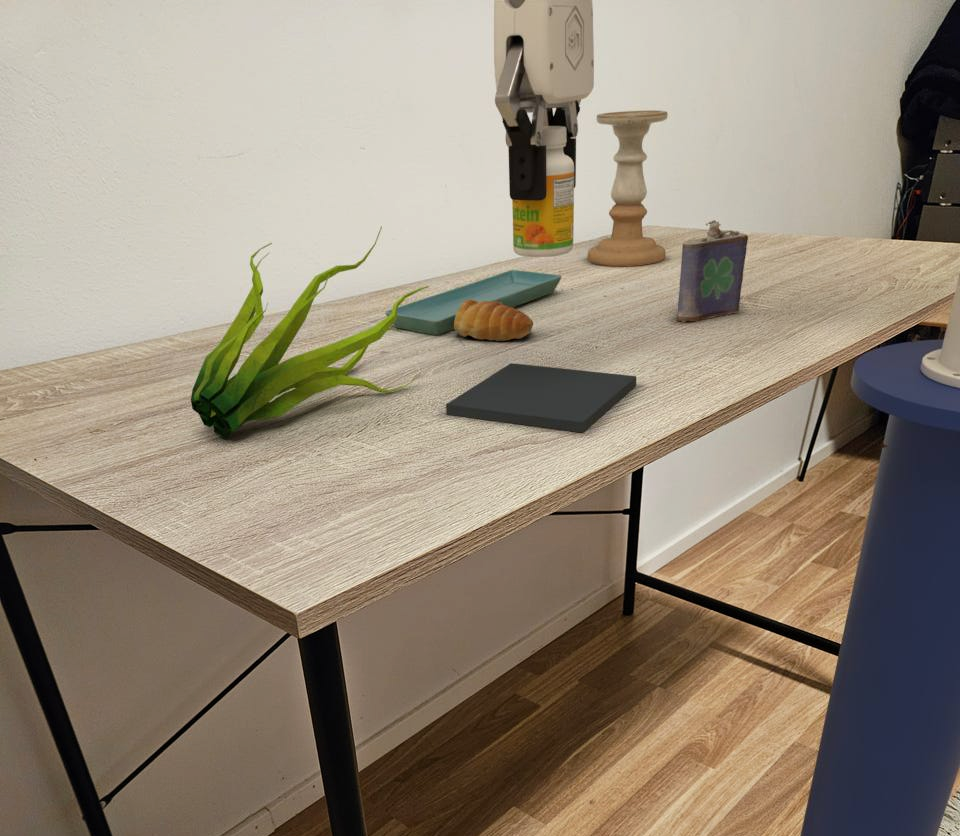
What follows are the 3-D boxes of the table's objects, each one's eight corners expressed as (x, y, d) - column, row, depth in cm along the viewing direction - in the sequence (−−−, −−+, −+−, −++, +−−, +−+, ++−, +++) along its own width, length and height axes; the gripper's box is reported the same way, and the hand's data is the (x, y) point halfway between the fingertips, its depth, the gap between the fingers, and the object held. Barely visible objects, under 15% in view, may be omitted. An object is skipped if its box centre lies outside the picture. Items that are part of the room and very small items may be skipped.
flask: (684, 323, 108) (692, 227, 102) (669, 318, 110) (676, 224, 104) (744, 312, 111) (754, 218, 105) (728, 307, 113) (738, 215, 108)
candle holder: (638, 248, 149) (644, 108, 138) (680, 260, 139) (691, 110, 128) (573, 257, 145) (574, 114, 134) (612, 270, 135) (617, 117, 124)
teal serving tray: (437, 338, 108) (436, 317, 106) (384, 329, 113) (382, 308, 111) (563, 294, 124) (563, 275, 123) (512, 287, 129) (511, 269, 128)
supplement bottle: (500, 253, 80) (497, 130, 75) (542, 244, 83) (541, 124, 78) (544, 260, 77) (543, 131, 72) (585, 250, 80) (588, 125, 74)
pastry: (543, 331, 108) (542, 298, 106) (517, 346, 103) (516, 312, 101) (476, 325, 112) (474, 293, 110) (448, 339, 107) (446, 306, 105)
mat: (636, 385, 89) (636, 376, 89) (582, 433, 79) (583, 422, 78) (511, 372, 95) (510, 362, 94) (446, 414, 85) (445, 404, 84)
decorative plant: (489, 382, 93) (483, 229, 84) (216, 453, 79) (178, 278, 71) (402, 347, 105) (390, 211, 97) (154, 403, 92) (116, 249, 84)
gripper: (538, -86, 60) (541, 210, 70) (627, -68, 72) (619, 182, 82) (442, -74, 63) (458, 208, 73) (543, -58, 75) (545, 181, 85)
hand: (543, 192), depth 77 cm, fingers closed on supplement bottle, 5 cm apart
